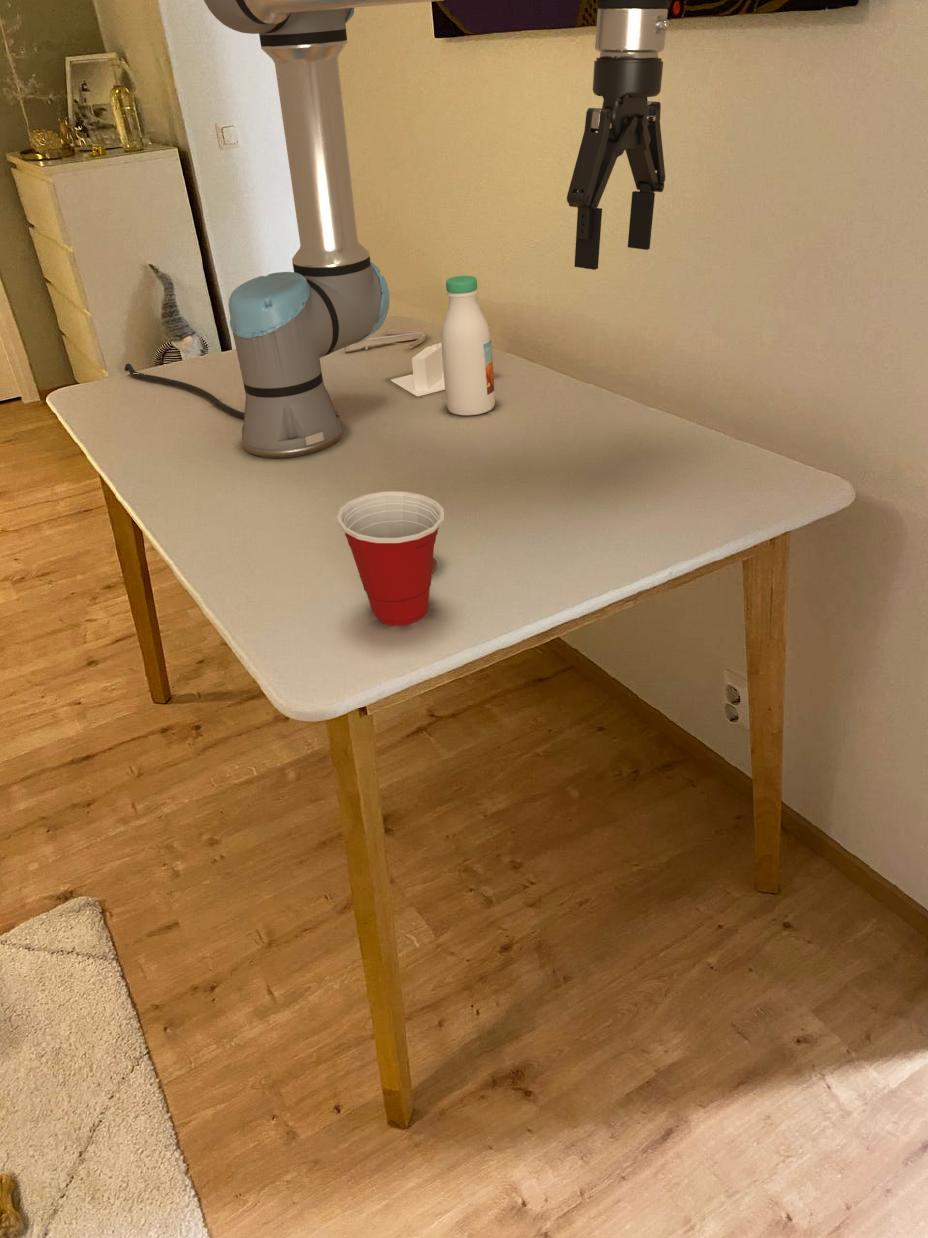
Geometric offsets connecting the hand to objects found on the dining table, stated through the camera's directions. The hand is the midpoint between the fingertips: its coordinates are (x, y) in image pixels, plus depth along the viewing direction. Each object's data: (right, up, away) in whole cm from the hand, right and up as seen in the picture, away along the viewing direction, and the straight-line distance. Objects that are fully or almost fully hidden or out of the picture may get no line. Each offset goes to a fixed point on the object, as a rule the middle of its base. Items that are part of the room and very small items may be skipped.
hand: (613, 257), depth 118 cm
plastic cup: (-24, -43, -14) cm, 52 cm away
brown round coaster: (-24, -38, -6) cm, 45 cm away
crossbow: (-33, +9, +70) cm, 78 cm away
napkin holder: (-22, -2, +51) cm, 55 cm away
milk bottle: (-17, -10, +37) cm, 42 cm away
